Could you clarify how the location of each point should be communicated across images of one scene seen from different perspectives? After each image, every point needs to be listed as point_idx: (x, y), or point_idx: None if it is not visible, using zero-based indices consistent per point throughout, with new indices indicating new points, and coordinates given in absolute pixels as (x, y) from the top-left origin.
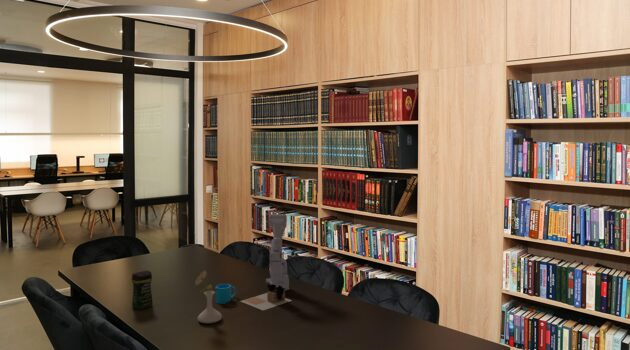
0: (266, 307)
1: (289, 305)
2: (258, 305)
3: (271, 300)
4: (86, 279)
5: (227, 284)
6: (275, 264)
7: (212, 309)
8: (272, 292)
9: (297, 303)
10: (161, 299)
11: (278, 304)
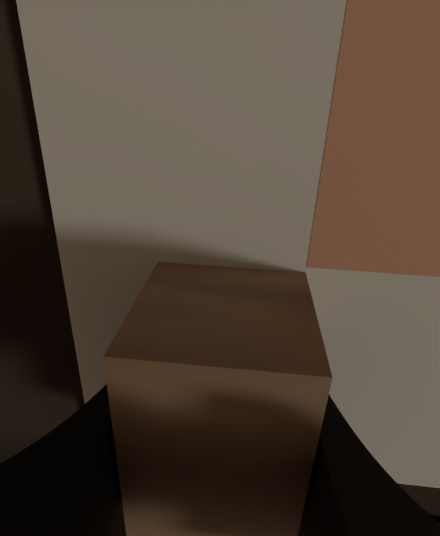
0: (89, 49)
1: (13, 351)
2: (287, 10)
3: (203, 282)
4: None
5: None
6: None
7: None
8: (214, 415)
9: (17, 429)
10: None
11: (82, 279)
